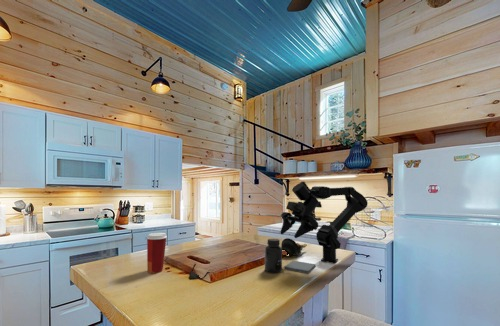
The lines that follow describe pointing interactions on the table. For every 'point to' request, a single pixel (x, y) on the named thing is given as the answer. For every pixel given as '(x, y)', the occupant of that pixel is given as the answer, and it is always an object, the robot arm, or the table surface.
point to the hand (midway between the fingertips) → (287, 235)
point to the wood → (194, 276)
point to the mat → (300, 266)
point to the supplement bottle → (273, 256)
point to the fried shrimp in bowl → (292, 247)
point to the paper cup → (155, 252)
